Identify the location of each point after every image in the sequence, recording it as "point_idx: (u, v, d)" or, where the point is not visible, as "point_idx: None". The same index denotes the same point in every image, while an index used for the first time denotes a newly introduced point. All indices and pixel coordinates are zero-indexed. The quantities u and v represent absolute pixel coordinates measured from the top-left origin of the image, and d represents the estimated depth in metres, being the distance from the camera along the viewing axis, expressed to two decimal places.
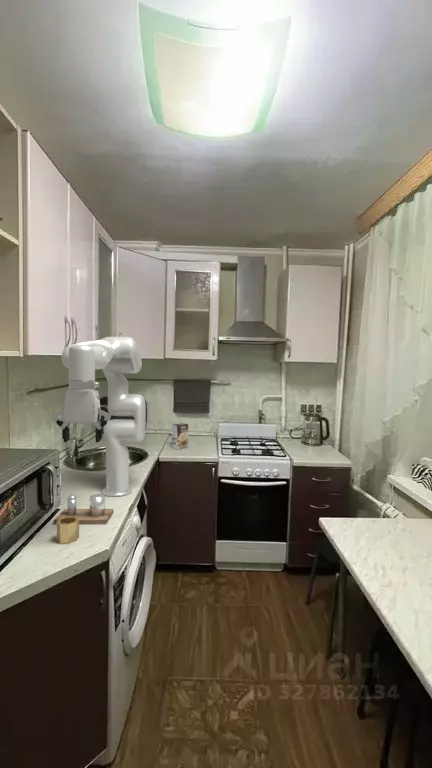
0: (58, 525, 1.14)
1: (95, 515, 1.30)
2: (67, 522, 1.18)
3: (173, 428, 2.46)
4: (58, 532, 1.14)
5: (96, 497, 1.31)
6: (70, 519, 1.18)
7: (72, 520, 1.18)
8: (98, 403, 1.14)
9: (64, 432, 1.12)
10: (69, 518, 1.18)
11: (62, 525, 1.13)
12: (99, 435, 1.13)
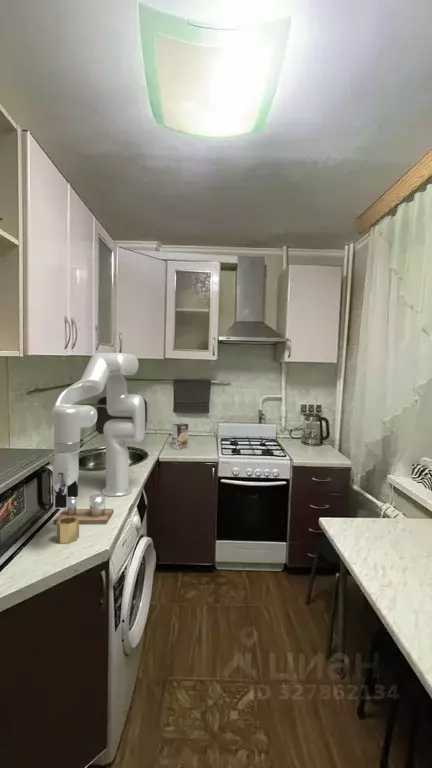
0: (58, 525, 1.14)
1: (95, 515, 1.30)
2: (67, 522, 1.18)
3: (173, 428, 2.46)
4: (58, 532, 1.14)
5: (96, 497, 1.31)
6: (70, 519, 1.18)
7: (72, 520, 1.18)
8: None
9: (66, 497, 1.10)
10: (69, 518, 1.18)
11: (62, 525, 1.13)
12: None
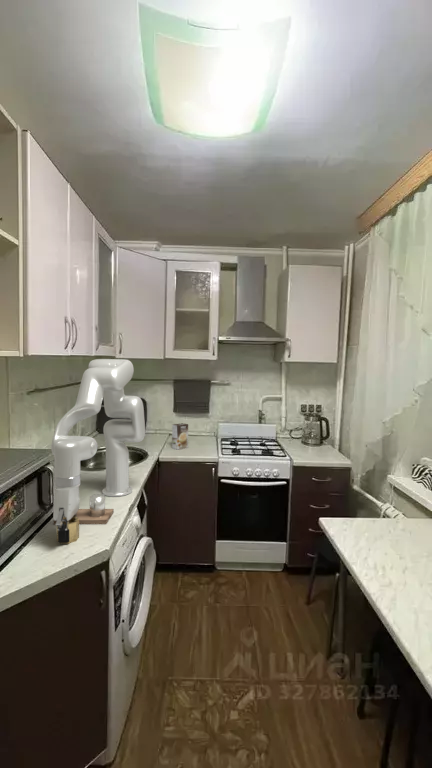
0: None
1: (95, 515, 1.30)
2: None
3: (173, 428, 2.46)
4: None
5: (96, 497, 1.31)
6: (70, 519, 1.18)
7: (72, 520, 1.18)
8: None
9: (68, 532, 1.13)
10: None
11: None
12: None
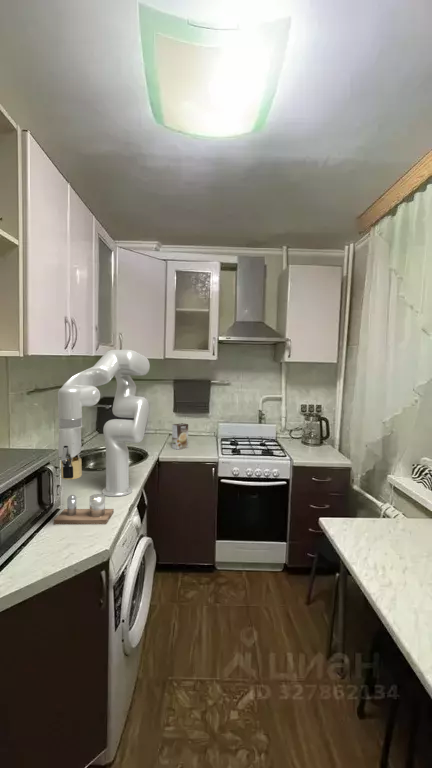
0: (62, 463, 1.26)
1: (95, 515, 1.30)
2: None
3: (173, 428, 2.46)
4: None
5: (96, 497, 1.31)
6: (73, 459, 1.30)
7: (75, 460, 1.30)
8: None
9: (72, 468, 1.25)
10: None
11: None
12: None
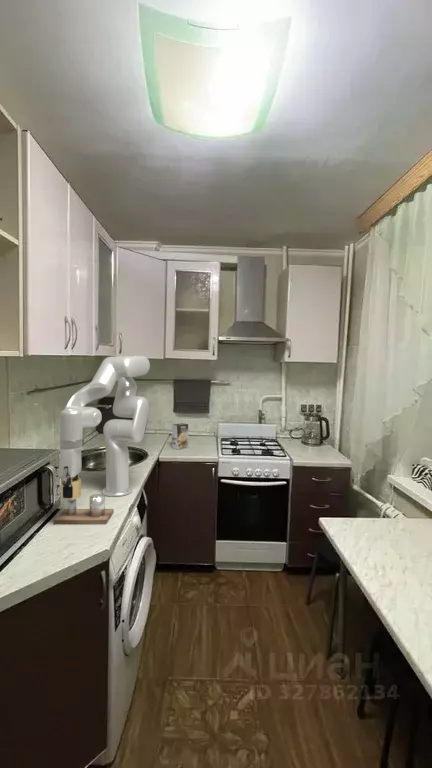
0: None
1: (95, 515, 1.30)
2: None
3: (173, 428, 2.46)
4: (62, 489, 1.29)
5: (96, 497, 1.31)
6: (73, 479, 1.34)
7: (75, 480, 1.34)
8: None
9: (72, 489, 1.28)
10: None
11: None
12: None
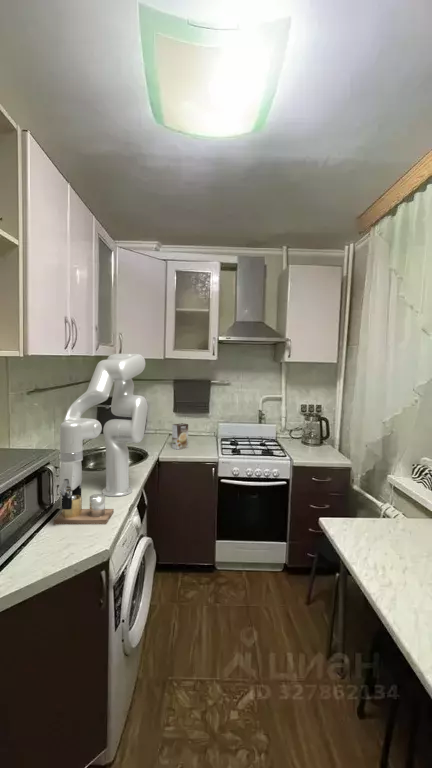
0: None
1: (95, 515, 1.30)
2: None
3: (173, 428, 2.46)
4: None
5: (96, 497, 1.31)
6: None
7: None
8: None
9: (71, 500, 1.27)
10: None
11: None
12: None
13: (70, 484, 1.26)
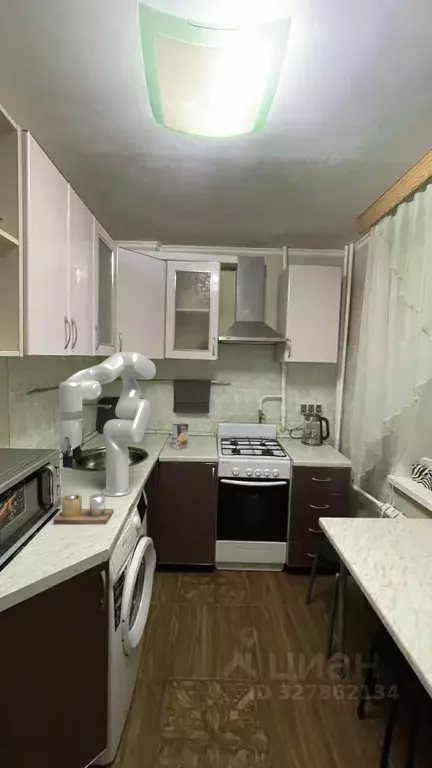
0: (63, 501, 1.30)
1: (95, 515, 1.30)
2: None
3: (173, 428, 2.46)
4: (63, 507, 1.30)
5: (96, 497, 1.31)
6: None
7: None
8: None
9: (72, 458, 1.28)
10: None
11: (67, 501, 1.29)
12: None
13: (71, 442, 1.27)
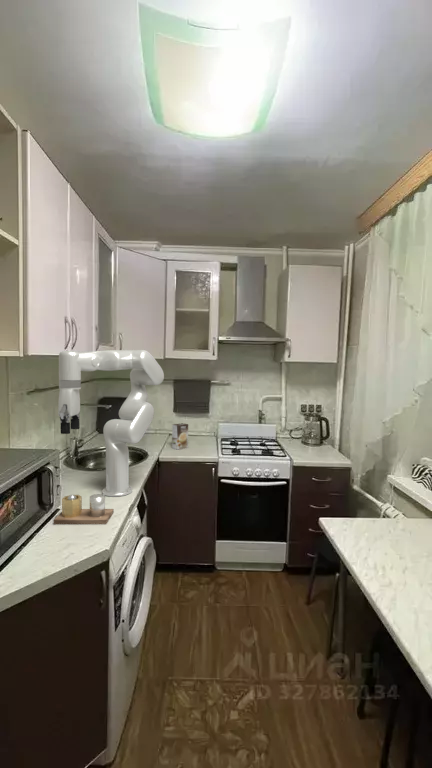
0: (63, 501, 1.30)
1: (95, 515, 1.30)
2: None
3: (173, 428, 2.46)
4: (63, 507, 1.30)
5: (96, 497, 1.31)
6: None
7: None
8: None
9: (69, 425, 1.32)
10: None
11: (67, 501, 1.29)
12: None
13: (69, 409, 1.31)
